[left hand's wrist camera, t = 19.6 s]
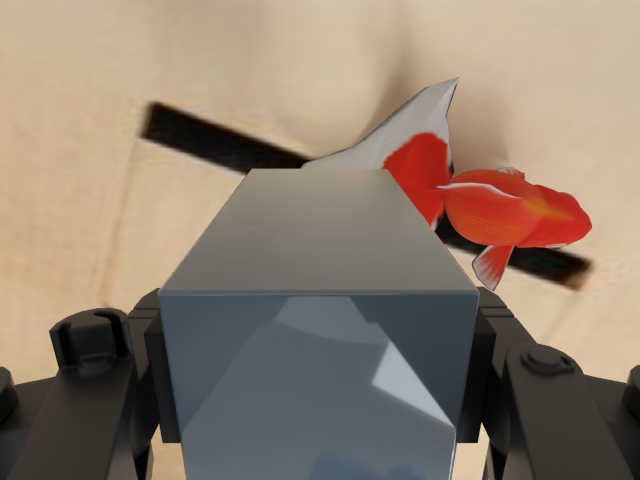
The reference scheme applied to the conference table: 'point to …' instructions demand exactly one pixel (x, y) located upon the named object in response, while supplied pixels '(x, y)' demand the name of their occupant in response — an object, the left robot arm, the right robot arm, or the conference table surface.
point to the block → (318, 334)
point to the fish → (463, 186)
